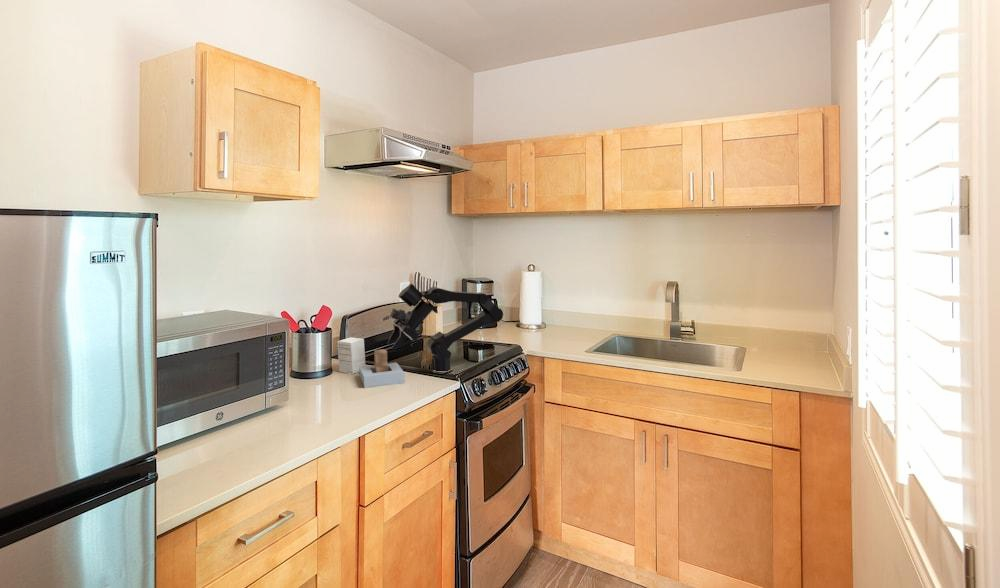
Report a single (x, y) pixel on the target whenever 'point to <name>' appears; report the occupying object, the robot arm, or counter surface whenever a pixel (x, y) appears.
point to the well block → (381, 376)
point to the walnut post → (380, 360)
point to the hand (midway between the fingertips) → (390, 346)
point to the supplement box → (351, 355)
